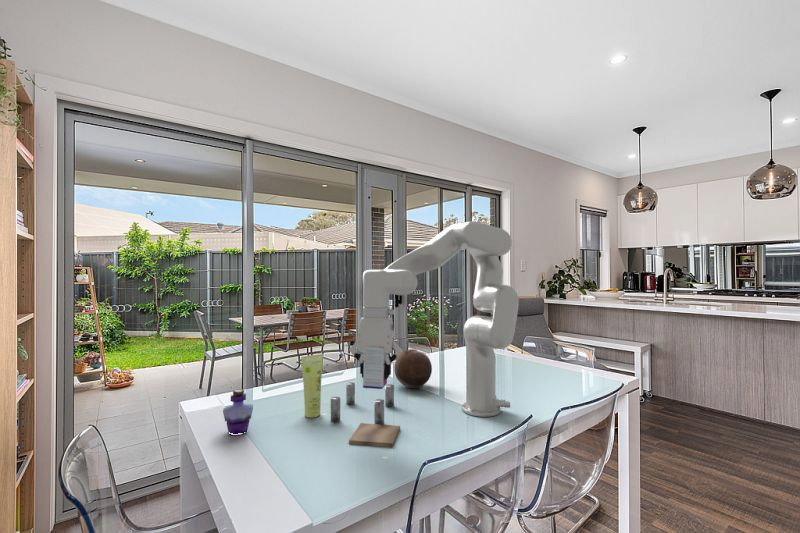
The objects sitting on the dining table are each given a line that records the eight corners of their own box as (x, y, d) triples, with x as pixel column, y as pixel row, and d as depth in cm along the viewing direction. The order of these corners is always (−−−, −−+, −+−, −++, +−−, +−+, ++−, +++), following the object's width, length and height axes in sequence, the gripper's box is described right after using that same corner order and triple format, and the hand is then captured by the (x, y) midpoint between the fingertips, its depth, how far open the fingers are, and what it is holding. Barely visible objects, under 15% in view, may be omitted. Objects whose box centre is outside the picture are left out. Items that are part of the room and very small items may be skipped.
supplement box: (383, 389, 108) (383, 347, 109) (362, 388, 110) (362, 346, 110) (388, 383, 114) (388, 343, 114) (368, 382, 115) (368, 342, 115)
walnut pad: (400, 429, 117) (400, 425, 117) (392, 447, 105) (392, 443, 105) (360, 426, 119) (360, 423, 119) (348, 443, 107) (348, 440, 107)
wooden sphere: (439, 388, 157) (439, 350, 157) (408, 395, 148) (408, 355, 148) (416, 379, 169) (416, 344, 169) (387, 385, 160) (387, 348, 161)
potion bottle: (230, 425, 119) (230, 386, 119) (258, 426, 119) (258, 386, 119) (216, 438, 111) (216, 395, 111) (246, 438, 110) (246, 395, 110)
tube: (314, 419, 124) (314, 357, 124) (300, 417, 126) (300, 356, 126) (323, 413, 130) (323, 353, 130) (309, 411, 131) (309, 352, 131)
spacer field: (394, 404, 138) (394, 384, 138) (383, 425, 119) (383, 402, 119) (347, 401, 141) (347, 382, 141) (329, 422, 122) (329, 399, 122)
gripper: (407, 312, 114) (407, 375, 114) (350, 311, 117) (350, 372, 117) (403, 315, 107) (403, 382, 107) (342, 314, 110) (342, 379, 110)
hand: (375, 376), depth 112 cm, fingers closed on supplement box, 5 cm apart
